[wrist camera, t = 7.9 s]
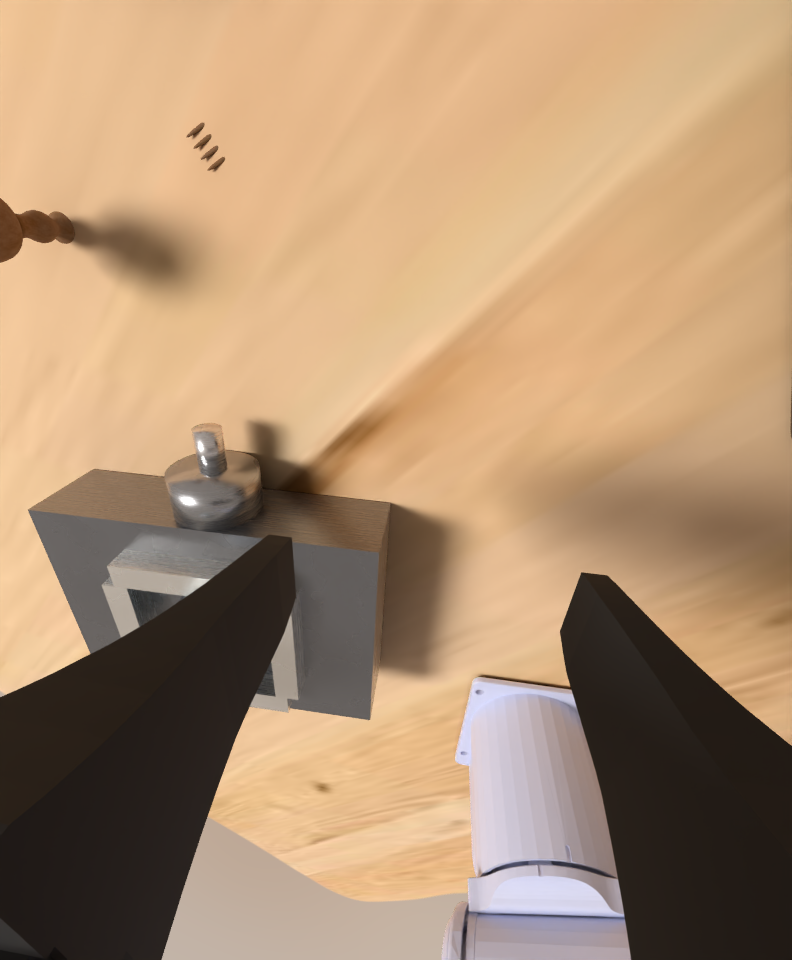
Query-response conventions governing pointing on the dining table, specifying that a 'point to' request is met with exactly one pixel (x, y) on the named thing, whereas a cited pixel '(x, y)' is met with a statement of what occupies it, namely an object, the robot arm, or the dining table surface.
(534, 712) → the robot arm
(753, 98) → the dining table surface
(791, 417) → the dark grey slab
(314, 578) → the grey square pedestal
